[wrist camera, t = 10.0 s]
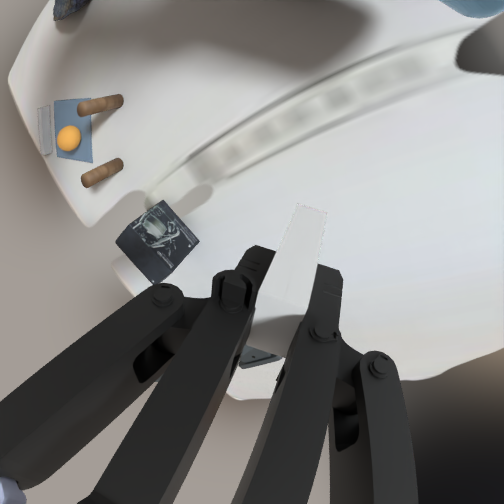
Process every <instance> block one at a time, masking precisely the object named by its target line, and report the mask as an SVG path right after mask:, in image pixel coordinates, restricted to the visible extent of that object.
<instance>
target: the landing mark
mask: <svg viewBox="0 0 504 504" xmlns="http://www.w3.org/2000/svg"><path fill="white" fill-rule="evenodd" d="M87 100H91V98H85V99H71V100H61V101H54V120H55V138H56V150H57V157H61V158H67V159H73V160H79V161H84V162H90V163H93V159H92V142H91V115H88V116H85V117H79V116H78V114H77V106H78V104H79V103H80V102H83V101H87ZM69 125H72V126H75V127H77V128H78V129H79V130H80V133H81V140H80V143H79V145H78V146H77V147H76V148H75V149H73V150H71V151H64V150H62V149H60V148H59V146H58V144H57V136H58V134H59V132H60V131H61V130H62V129H63V128H64V127H66V126H69Z"/></svg>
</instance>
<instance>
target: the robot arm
mask: <svg viewBox="0 0 504 504" xmlns="http://www.w3.org/2000/svg"><path fill="white" fill-rule="evenodd" d="M439 1H441V2H442V3H444V4H446V5H447V6H449V7H451V8H452V9H454V10H455V11H457V12H458V13H460V14H462V15H464V16H467V17H473V18H487V17H491V16H494V15H496V14H499V13H501V12H503V11H504V0H439ZM326 218H327V212H324V211H321V210H317V209H314V208H311V207H308V206H304V205H301V204H297V206H296V209H295V211H294V213H293V216H292V218H291V220H290V222H289V225H288V227H287V229H286V231H285V234H284V236H283V238H282V240H281V243H280V245H279V247H278V249H277V252H276V251H273V250H270V249H267V248H264V247H260V246H257V245H255V246H253V247H251V248H249V249H248V250H246V252H245V254H244V255H243V257H242V259H241V260H240V262H239V263H238V266H237V267H236V268H235V270H224V271H222V272H219V273H217V274H216V275H215V276H214V277H213V280H212V293H211V297H209V298H190V297H184V295H183V292H182V291H181V290H180V289H179V288H178V287H177V286H175V285H172V284H168V283H159V284H154V285H152V286H150V287H148V288H147V289H146V290H144V291H143V292H141V293H140V294H139V295H137V296H136V297H135V298H133V299H132V300H130V301H129V302H128V303H126V304H125V305H124V306H122V307H121V308H120V309H118V310H117V311H115V312H114V313H113V314H111V315H110V316H109V317H107V318H106V319H105V320H103V321H102V322H101V323H99V324H98V325H97V326H95V327H94V328H93V329H92V330H90V331H89V332H87V333H86V334H85V335H83V336H82V337H81V338H79V339H78V340H77V341H76V342H74V343H73V344H72V345H70V346H69V347H68V348H66V349H65V350H64V351H63V352H62V353H60V354H59V355H57V356H56V357H55V358H54V359H52V360H51V361H50V362H49V363H47V364H46V365H45V366H43V367H42V368H41V369H40V370H38V371H37V372H36V373H35V374H33V375H32V376H31V377H30V378H28V379H27V380H26V381H25V382H24V383H22V384H21V385H20V386H19V387H17V388H16V389H15V390H14V391H13V392H11V393H10V394H9V395H8V396H7V397H5V398H4V399H3V400H2V401H1V402H0V504H26V500H27V499H26V496H25V494H24V493H23V491H22V490H25V489H29V488H32V487H34V486H36V485H38V484H40V483H42V482H43V481H45V480H46V479H47V478H49V477H50V476H51V475H52V474H54V473H55V472H56V471H57V470H58V469H60V468H61V467H62V466H63V465H64V464H65V463H66V462H68V461H69V460H70V459H71V458H72V457H73V456H74V455H76V454H77V453H78V452H79V451H80V450H81V449H82V448H83V447H84V446H86V444H88V443H89V442H90V441H91V440H92V439H93V438H94V437H96V436H97V435H98V434H99V433H100V432H101V431H102V430H103V429H104V428H106V427H107V426H108V425H109V424H110V423H111V422H112V421H113V420H114V419H115V418H117V417H118V416H119V415H120V414H121V413H122V412H123V411H124V410H125V409H126V408H127V407H128V406H129V405H131V404H132V403H133V402H134V401H135V400H136V399H137V398H138V397H139V396H140V395H141V394H142V393H143V392H144V391H146V390H147V389H148V388H149V387H150V386H151V385H152V384H153V383H154V382H155V381H156V380H157V379H158V378H159V377H160V376H161V375H162V374H163V373H164V374H163V375H162V377H161V379H160V380H159V382H158V384H157V385H156V387H155V389H154V390H153V392H152V394H151V395H150V397H149V398H148V400H147V402H146V403H145V405H144V407H143V408H142V410H141V412H140V413H139V415H138V416H137V418H136V420H135V421H134V423H133V425H132V426H131V428H130V429H129V431H128V433H127V434H126V436H125V438H124V440H123V441H122V443H121V445H120V446H119V448H118V449H117V451H116V453H115V454H114V456H113V458H112V459H111V461H110V463H109V464H108V466H107V468H106V469H105V471H104V473H103V474H102V476H101V478H100V480H99V481H98V483H97V485H96V486H95V488H94V490H93V491H92V492H91V494H90V495H89V496H88V497H86V498H85V499H83V500H81V501H80V502H78V503H77V504H173V502H174V500H175V498H176V496H177V494H178V492H179V490H180V488H181V485H182V484H183V482H184V480H185V478H186V476H187V474H188V472H189V470H190V467H191V466H192V464H193V461H194V459H195V457H196V455H197V453H198V451H199V449H200V447H201V445H202V443H203V440H204V438H205V436H206V434H207V432H208V430H209V427H210V426H211V423H212V421H213V419H214V417H215V415H216V412H217V410H218V408H219V406H220V404H221V402H222V399H223V397H224V395H225V393H226V391H227V388H228V386H229V384H230V382H231V379H232V377H233V375H234V372H235V370H236V368H237V366H238V363H239V361H240V359H241V356H242V351H243V348H244V346H245V344H246V345H248V346H251V347H254V348H256V349H259V350H262V351H265V352H268V353H271V354H274V355H277V356H281V357H284V358H286V359H285V362H284V365H283V367H282V369H281V371H280V373H279V375H278V377H277V379H276V381H277V383H276V386H275V389H274V392H273V395H272V398H271V401H270V404H269V407H268V410H267V413H266V416H265V418H264V422H263V424H262V427H261V430H260V432H259V435H258V438H257V440H256V443H255V446H254V448H253V451H252V454H251V456H250V459H249V461H248V464H247V467H246V469H245V471H244V474H243V477H242V479H241V481H240V484H239V486H238V489H237V491H236V493H235V496H234V498H233V500H232V503H231V504H307V502H308V499H309V495H310V492H311V489H312V485H313V482H314V478H315V475H316V471H317V467H318V464H319V460H320V456H321V452H322V447H323V443H324V439H325V435H326V430H327V425H328V427H329V453H330V504H418V491H417V480H416V470H415V462H414V454H413V447H412V440H411V434H410V428H409V423H408V417H407V412H406V407H405V402H404V397H403V393H402V388H401V384H400V379H399V375H398V371H397V368H396V365H395V363H394V361H393V360H392V359H391V358H390V357H389V356H388V355H386V354H385V353H383V352H379V351H369V352H367V353H366V354H364V355H363V354H361V353H359V352H358V351H356V350H354V349H353V348H351V347H350V346H349V345H347V344H346V343H345V341H344V340H343V339H342V337H341V333H340V331H339V317H340V308H341V299H342V298H341V297H342V288H343V278H342V276H341V274H340V271H339V270H336V269H333V268H330V267H327V266H324V265H320V264H318V260H319V255H320V250H321V245H322V240H323V234H324V229H325V224H326Z"/></svg>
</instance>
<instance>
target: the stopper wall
mask: <svg viewBox="0 0 504 504" xmlns="http://www.w3.org/2000/svg"><path fill="white" fill-rule="evenodd" d="M38 127H39V141H40V151H41V155H47V154H49V153H51V152H52V144H51V130H50V106H44V107H41V108H38Z"/></svg>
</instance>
